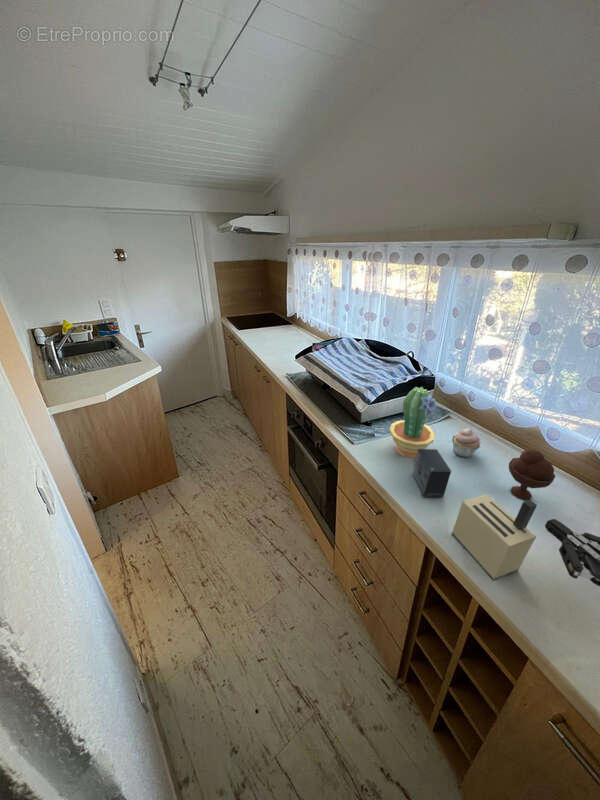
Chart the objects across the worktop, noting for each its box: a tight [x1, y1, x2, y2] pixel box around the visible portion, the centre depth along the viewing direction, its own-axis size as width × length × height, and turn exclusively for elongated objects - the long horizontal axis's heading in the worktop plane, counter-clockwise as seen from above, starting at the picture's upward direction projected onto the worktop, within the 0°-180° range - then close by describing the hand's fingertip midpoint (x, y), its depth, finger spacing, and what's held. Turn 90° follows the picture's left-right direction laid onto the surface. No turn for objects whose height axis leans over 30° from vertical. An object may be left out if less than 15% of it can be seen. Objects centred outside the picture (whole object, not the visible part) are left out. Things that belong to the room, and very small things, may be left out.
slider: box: [513, 499, 538, 530], centre depth 66 cm, size 2×2×7 cm
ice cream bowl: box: [508, 448, 556, 501], centre depth 89 cm, size 11×11×15 cm
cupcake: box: [451, 428, 481, 458], centre depth 108 cm, size 9×9×10 cm
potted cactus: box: [389, 386, 437, 458], centre depth 106 cm, size 15×15×25 cm
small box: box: [411, 448, 452, 499], centre depth 93 cm, size 11×6×10 cm, turn 0°
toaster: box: [451, 493, 537, 581], centre depth 73 cm, size 8×13×12 cm, turn 18°
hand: (548, 522), depth 61 cm, fingers closed
